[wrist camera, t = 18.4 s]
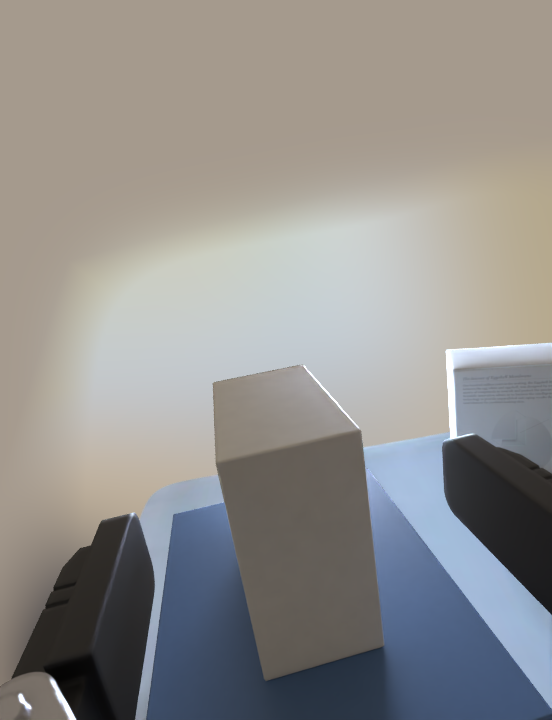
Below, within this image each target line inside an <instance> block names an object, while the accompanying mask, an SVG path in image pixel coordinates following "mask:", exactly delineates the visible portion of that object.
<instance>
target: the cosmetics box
mask: <svg viewBox="0 0 552 720" xmlns="http://www.w3.org/2000/svg"><path fill="white" fill-rule="evenodd" d="M446 358H447V376H448V396H449V417H450V436H451V438H454V437H459V436H463V435H467V434H471V433H474V434H477V435H478V436H480V437H482V438H483V439H485V440H486V441H488V442H489V443H491V444H492V445H494V446H495V447H501V448H504V449H507V450H510V451H512V452H515V453H518V454H521V455H523V456H524V457H526V458H528V459H529V460H531V461H532V462H534V463H536V464H537V465H539V467H540V468H544V469H545V470H547V471H549V472H550V473H552V343H542V344H526V345H513V346H499V347H484V348H469V349H454V350H447V351H446Z"/></svg>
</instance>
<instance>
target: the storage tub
mask: <svg viewBox="0 0 552 720" xmlns="http://www.w3.org/2000/svg"><path fill="white" fill-rule="evenodd" d="M365 470H366V480H367V489H368V498H369V507H370V517H371V526H372V535H373V544H374V554H375V563H376V572H377V581H378V590H379V600H380V609H381V618H382V627H383V637H384V646H383V647H380V648H377V649H373V650H370V651H367V652H363V653H360V654H356V655H353V656H350V657H346V658H343V659H339V660H336V661H333V662H329V663H326V664H322V665H319V666H316V667H312V668H309V669H305V670H302V671H299V672H295V673H292V674H288V675H285V676H282V677H278V678H275V679H271V680H268V681H265V679H264V676H263V672H262V667H261V663H260V658H259V654H258V649H257V645H256V640H255V636H254V632H253V627H252V623H251V618H250V614H249V609H248V605H247V600H246V596H245V591H244V587H243V583H242V578H241V574H240V569H239V565H238V560H237V556H236V551H235V547H234V542H233V538H232V534H231V529H230V525H229V520H228V516H227V511H226V507H225V502H224V503H220V504H215V505H211V506H207V507H203V508H199V509H194V510H190V511H186V512H182V513H178V514H174V515H173V522H172V530H171V537H170V545H169V552H168V560H167V567H166V575H165V582H164V590H163V597H162V605H161V613H160V620H159V628H158V635H157V643H156V650H155V658H154V665H153V673H152V680H151V688H150V695H149V703H148V710H147V718H146V720H552V709H551V708H550V707H549V705H548V704H547V703H546V701H545V700H544V699H543V697H542V696H541V695H540V693H539V692H538V691H537V690H536V688H535V687H534V686H533V684H532V683H531V682H530V680H529V679H528V678H527V676H526V675H525V674H524V672H523V671H522V670H521V669H520V667H519V666H518V665H517V663H516V662H515V661H514V659H513V658H512V657H511V655H510V654H509V653H508V651H507V650H506V649H505V648H504V646H503V645H502V644H501V642H500V641H499V640H498V638H497V637H496V636H495V634H494V633H493V632H492V630H491V629H490V628H489V627H488V625H487V624H486V623H485V621H484V620H483V619H482V617H481V616H480V615H479V613H478V612H477V611H476V609H475V608H474V607H473V606H472V604H471V603H470V602H469V600H468V599H467V598H466V596H465V595H464V594H463V592H462V591H461V590H460V588H459V587H458V586H457V585H456V583H455V582H454V581H453V579H452V578H451V577H450V575H449V574H448V573H447V571H446V570H445V569H444V567H443V566H442V565H441V564H440V562H439V561H438V560H437V558H436V557H435V556H434V554H433V553H432V552H431V550H430V549H429V548H428V546H427V545H426V544H425V543H424V541H423V540H422V539H421V537H420V536H419V535H418V533H417V532H416V531H415V529H414V528H413V527H412V526H411V524H410V523H409V522H408V520H407V519H406V518H405V516H404V515H403V514H402V512H401V511H400V510H399V508H398V507H397V506H396V505H395V503H394V502H393V501H392V499H391V498H390V497H389V495H388V494H387V493H386V491H385V490H384V489H383V487H382V486H381V485H380V484H379V482H378V481H377V480H376V478H375V477H374V476H373V474H372V473H371V472H370V470H369V469H368V468H366V469H365Z"/></svg>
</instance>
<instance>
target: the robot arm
mask: <svg viewBox="0 0 552 720" xmlns="http://www.w3.org/2000/svg"><path fill="white" fill-rule="evenodd" d="M442 454H443V476H444V492H445V497H446V500H447V503H448V505H449V507H450V509H451V510H452V512H453V513H454V515H455V516H456V517H457V518H458V519H459V520H460V521H461V522H462V523H463V524H464V525H465V526H466V527H467V528H468V529H469V530H470V531H471V532H472V533H473V534H474V535H475V536H476V537H477V538H478V539H479V540H480V541H481V542H482V544H483V545H484V546H485V547H486V548H487V549H488V550H489V551H490V552H491V553H492V554H493V555H494V556H495V557H496V558H497V559H498V560H499V561H500V562H501V563H502V564H503V565H504V566H505V567H506V568H507V569H508V570H509V571H510V572H511V573H512V574H513V575H514V576H515V577H516V579H517V580H518V581H519V582H520V583H521V584H522V585H523V586H524V587H525V588H526V589H527V590H528V591H529V592H530V593H531V594H532V595H533V596H534V597H535V598H536V599H537V600H538V601H539V602H540V603H541V604H542V605H543V606H544V607H545V608H546V609H547V610H548V611H549V612H550V614H551V615H552V473H550V472H549V471H547V470H545V469H544V468H540V467H539V465H537V464H536V463H534V462H532V461H531V460H529V459H528V458H526V457H524V456H523V455H521V454H518V453H515V452H512V451H510V450H507V449H504V448H501V447H495V446H494V445H492V444H491V443H489V442H488V441H486V440H485V439H483V438H482V437H480V436H478V435H477V434H474V433H471V434H467V435H463V436H459V437H454V438H450V439H446V440H445V441H444V442H443V446H442ZM154 589H155V581H154V571H153V566H152V562H151V558H150V555H149V552H148V548H147V545H146V542H145V538H144V535H143V531H142V528H141V525H140V521H139V518H138V516H137V515H136V514H135V513H131V514H127V515H122V516H118V517H114V518H110V519H105V520H102V521H101V523H100V524H99V527H98V530H97V532H96V535H95V537H94V540H93V542H92V544H91V546H87V547H83V548H80V549H79V550H78V551H77V552H76V553H75V554H74V555H73V557H72V558H71V559H70V560H69V561H68V562H67V563H66V564H65V566H64V567H63V568H62V570H61V572H60V575H59V577H58V579H57V581H56V583H55V585H54V591H53V592H51V594H50V596H49V598H48V601H47V603H46V605H45V606H46V609H44V610H43V611H42V613H41V616H40V618H39V620H38V622H37V624H36V626H35V629H34V631H33V633H32V635H31V637H30V639H29V642H28V644H27V646H26V648H25V650H24V652H23V654H22V657H21V659H20V661H19V663H18V665H17V668H16V670H15V672H14V674H13V676H12V679H11V680H10V681H8V682H6V683H4V684H2V685H1V686H0V720H135V715H136V709H137V702H138V696H139V689H140V682H141V676H142V669H143V663H144V656H145V650H146V643H147V637H148V630H149V624H150V617H151V611H152V604H153V598H154Z"/></svg>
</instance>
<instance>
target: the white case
mask: <svg viewBox="0 0 552 720" xmlns="http://www.w3.org/2000/svg"><path fill="white" fill-rule="evenodd" d="M213 400H214V426H215V427H214V428H215V453H216V454H215V455H216V467H217V471H218V476H219V480H220V485H221V489H222V494H223V498H224V502H225V507H226V511H227V516H228V520H229V525H230V529H231V534H232V538H233V542H234V547H235V551H236V556H237V560H238V565H239V569H240V574H241V578H242V583H243V587H244V591H245V596H246V600H247V605H248V609H249V614H250V618H251V623H252V627H253V632H254V636H255V640H256V645H257V649H258V654H259V658H260V663H261V667H262V672H263V676H264V679H265V681H268V680H271V679H275V678H278V677H282V676H285V675H288V674H292V673H295V672H299V671H302V670H305V669H309V668H312V667H316V666H319V665H322V664H326V663H329V662H333V661H336V660H339V659H343V658H346V657H350V656H353V655H356V654H360V653H363V652H367V651H370V650H373V649H377V648H380V647H383V646H384V637H383V627H382V618H381V609H380V600H379V590H378V581H377V572H376V563H375V554H374V544H373V535H372V526H371V517H370V507H369V498H368V489H367V480H366V470H365V461H364V452H363V443H362V434H361V430H360V428H359V427H358V426H357V425H356V424H355V423H354V422H353V420H352V419H351V418H350V417H349V416H348V415H347V414H346V413H345V411H344V410H343V409H342V408H341V407H340V406H339V405H338V403H336V401H335V400H334V399H333V398H332V397H331V396H330V395H329V393H328V392H327V391H326V390H325V389H324V388H323V387H322V386H321V384H320V383H319V382H318V381H317V380H316V379H315V378H314V376H313V375H312V374H311V373H310V372H309V371H308V370H307V369H306V368H305V366H304V365H297V366H292V367H287V368H283V369H277V370H272V371H268V372H262V373H257V374H253V375H247V376H242V377H237V378H232V379H227V380H223V381H218V382H214V383H213Z"/></svg>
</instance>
